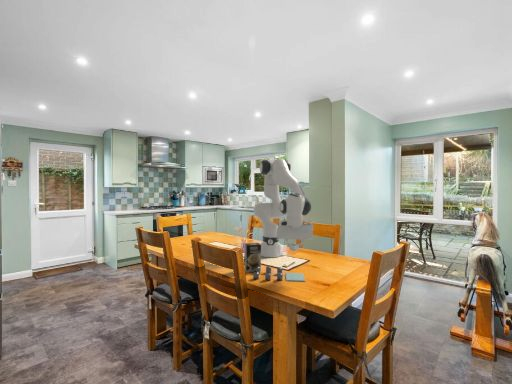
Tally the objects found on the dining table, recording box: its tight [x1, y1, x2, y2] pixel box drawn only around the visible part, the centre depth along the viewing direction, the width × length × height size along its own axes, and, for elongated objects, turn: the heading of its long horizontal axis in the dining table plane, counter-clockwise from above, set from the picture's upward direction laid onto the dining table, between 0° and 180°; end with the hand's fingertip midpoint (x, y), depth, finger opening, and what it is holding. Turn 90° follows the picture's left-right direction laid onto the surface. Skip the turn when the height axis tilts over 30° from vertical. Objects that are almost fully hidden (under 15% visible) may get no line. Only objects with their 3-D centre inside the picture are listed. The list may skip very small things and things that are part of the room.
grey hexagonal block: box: [289, 242, 300, 252], centre depth 147 cm, size 6×5×3 cm
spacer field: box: [252, 265, 284, 282], centre depth 148 cm, size 15×16×4 cm
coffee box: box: [243, 242, 262, 273], centre depth 159 cm, size 9×6×16 cm
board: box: [285, 272, 306, 283], centre depth 147 cm, size 12×10×1 cm
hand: (294, 246), depth 147 cm, fingers closed on grey hexagonal block, 5 cm apart
